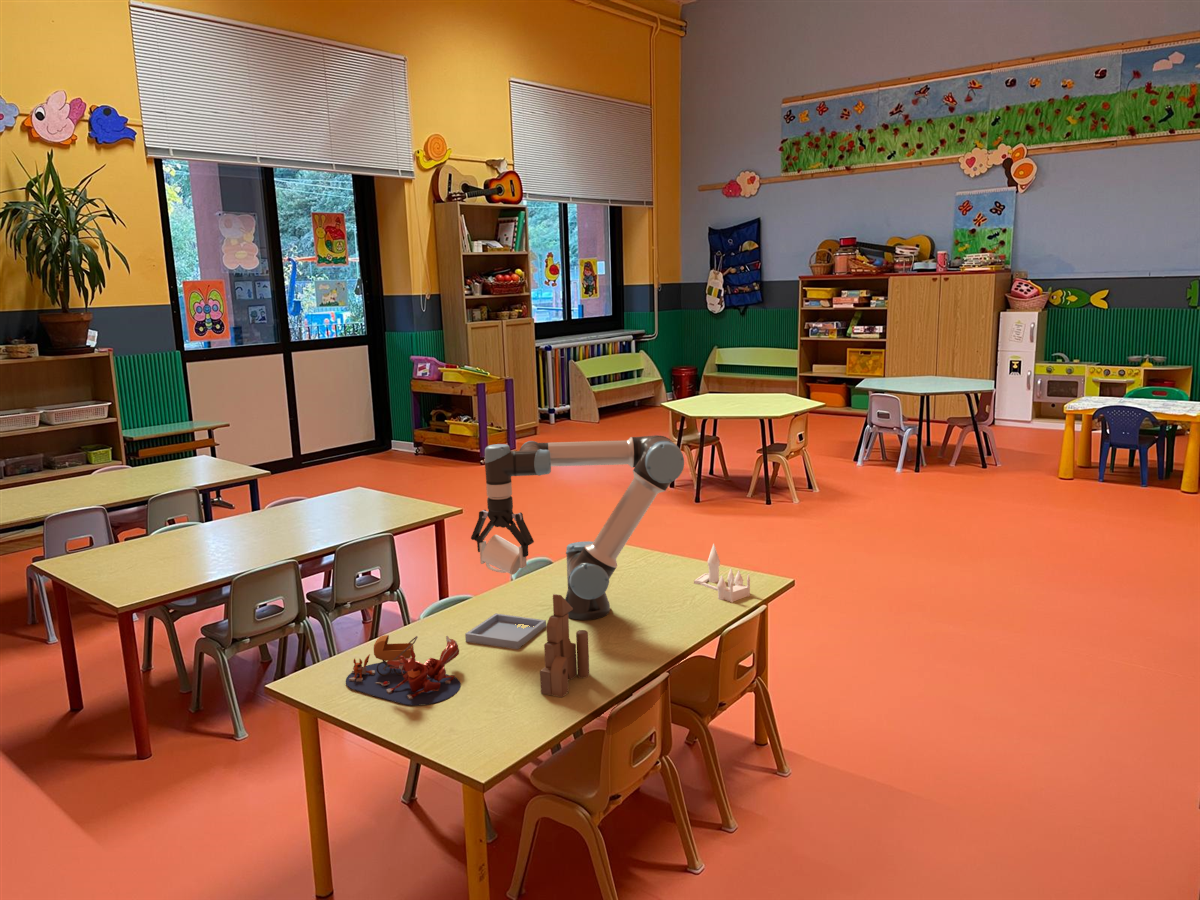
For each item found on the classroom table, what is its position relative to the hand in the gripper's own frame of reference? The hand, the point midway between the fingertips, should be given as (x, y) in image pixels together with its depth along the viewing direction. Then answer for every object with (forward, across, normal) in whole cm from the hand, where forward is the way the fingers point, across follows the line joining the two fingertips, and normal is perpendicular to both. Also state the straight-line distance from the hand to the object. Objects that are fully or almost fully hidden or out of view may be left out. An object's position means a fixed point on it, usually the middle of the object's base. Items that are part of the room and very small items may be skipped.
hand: (503, 564), depth 268 cm
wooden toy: (+23, -32, +24) cm, 46 cm away
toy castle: (+23, -50, -56) cm, 79 cm away
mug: (0, -5, -1) cm, 5 cm away
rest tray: (+22, 0, 0) cm, 22 cm away
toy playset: (+23, +10, +35) cm, 43 cm away
